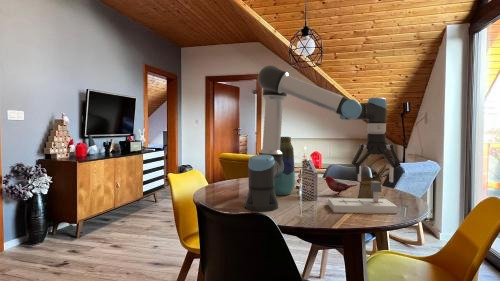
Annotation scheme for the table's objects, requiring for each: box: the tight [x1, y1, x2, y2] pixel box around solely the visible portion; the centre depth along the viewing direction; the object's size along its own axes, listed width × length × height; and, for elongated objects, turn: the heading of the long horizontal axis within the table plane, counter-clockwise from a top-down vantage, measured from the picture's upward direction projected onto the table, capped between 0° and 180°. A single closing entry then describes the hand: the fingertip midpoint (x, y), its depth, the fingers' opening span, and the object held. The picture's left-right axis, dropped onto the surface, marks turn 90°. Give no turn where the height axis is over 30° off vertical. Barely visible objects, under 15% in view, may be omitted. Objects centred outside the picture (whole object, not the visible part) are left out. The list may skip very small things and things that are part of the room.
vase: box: [274, 136, 296, 196], centre depth 174 cm, size 14×14×31 cm
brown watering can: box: [356, 164, 387, 199], centre depth 158 cm, size 9×14×18 cm, turn 76°
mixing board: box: [327, 197, 398, 214], centre depth 141 cm, size 26×14×3 cm, turn 85°
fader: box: [371, 181, 382, 202], centre depth 140 cm, size 3×5×9 cm, turn 175°
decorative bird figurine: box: [323, 175, 358, 196], centre depth 170 cm, size 3×18×10 cm, turn 69°
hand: (375, 181), depth 140 cm, fingers open, 13 cm apart
